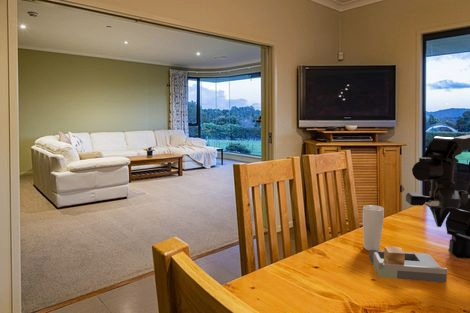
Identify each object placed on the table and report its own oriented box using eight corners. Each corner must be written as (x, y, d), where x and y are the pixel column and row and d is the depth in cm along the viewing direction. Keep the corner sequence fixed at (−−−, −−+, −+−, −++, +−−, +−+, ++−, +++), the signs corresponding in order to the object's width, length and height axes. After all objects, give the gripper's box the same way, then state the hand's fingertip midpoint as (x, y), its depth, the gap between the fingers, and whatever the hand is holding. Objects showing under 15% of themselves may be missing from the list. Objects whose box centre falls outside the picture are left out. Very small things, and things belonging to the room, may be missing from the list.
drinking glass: (359, 250, 117) (361, 208, 115) (362, 243, 123) (364, 204, 121) (381, 254, 114) (383, 211, 112) (382, 247, 120) (384, 206, 118)
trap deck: (428, 261, 108) (428, 247, 108) (446, 282, 95) (447, 267, 94) (369, 256, 112) (369, 244, 111) (378, 277, 98) (379, 262, 98)
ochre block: (399, 261, 103) (400, 247, 102) (404, 268, 98) (404, 253, 98) (383, 260, 103) (384, 246, 103) (387, 267, 99) (388, 252, 98)
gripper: (418, 182, 97) (415, 233, 99) (490, 184, 94) (485, 238, 96) (406, 175, 108) (403, 221, 110) (471, 176, 105) (467, 225, 107)
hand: (438, 226), depth 105 cm, fingers closed
